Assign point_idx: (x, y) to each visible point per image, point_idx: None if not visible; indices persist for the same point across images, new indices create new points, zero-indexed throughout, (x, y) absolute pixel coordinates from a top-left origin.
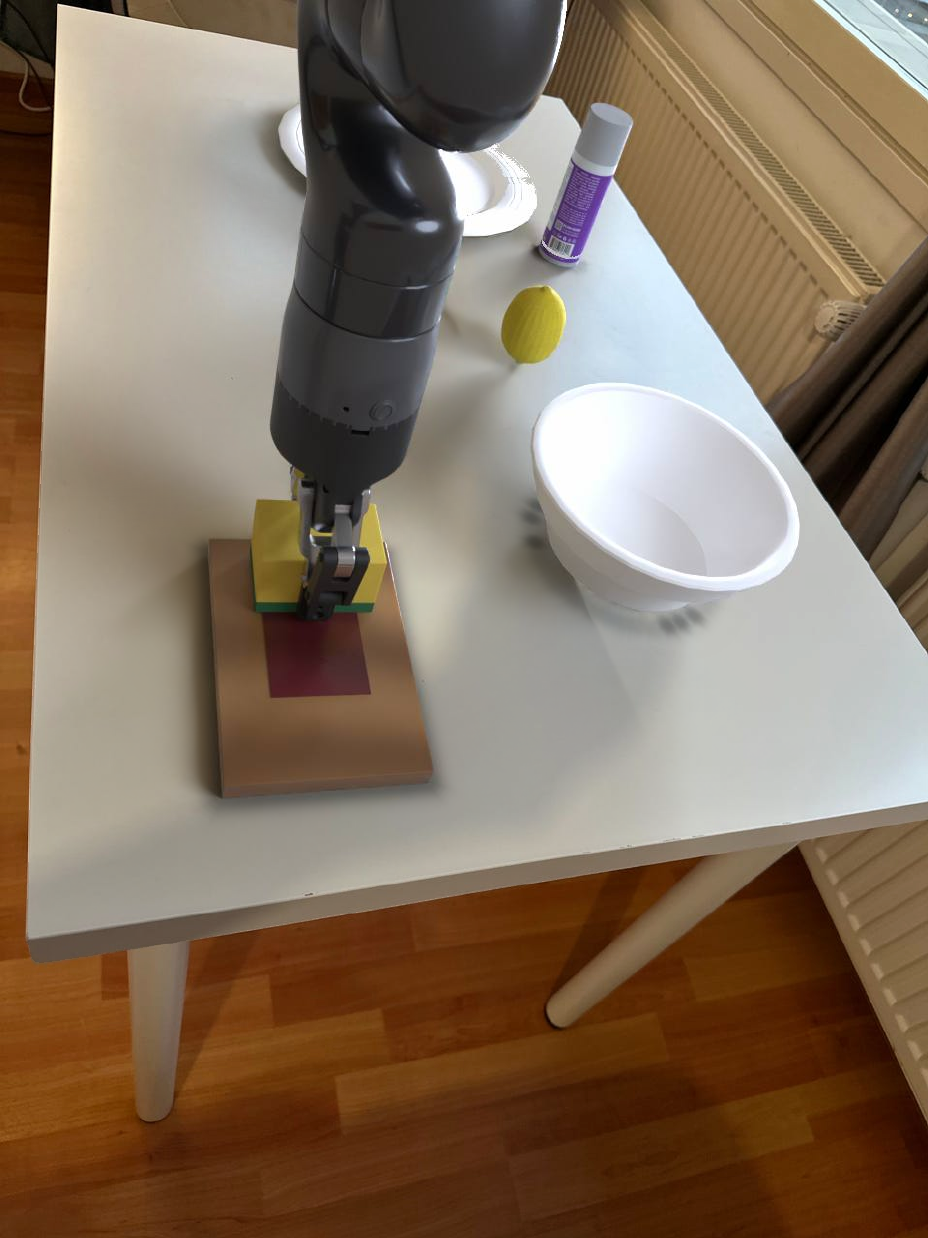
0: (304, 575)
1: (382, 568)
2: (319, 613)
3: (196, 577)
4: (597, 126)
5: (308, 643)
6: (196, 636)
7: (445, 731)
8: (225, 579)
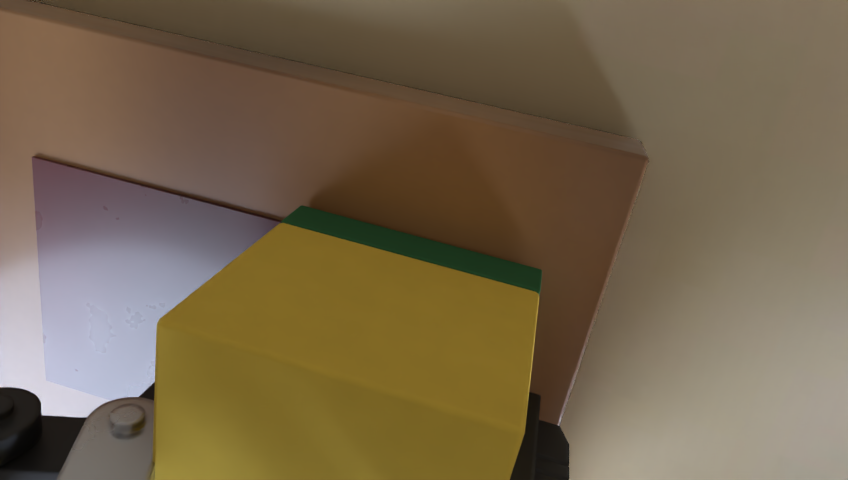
0: (120, 430)
1: None
2: None
3: (547, 76)
4: None
5: None
6: (323, 18)
7: None
8: (448, 158)
